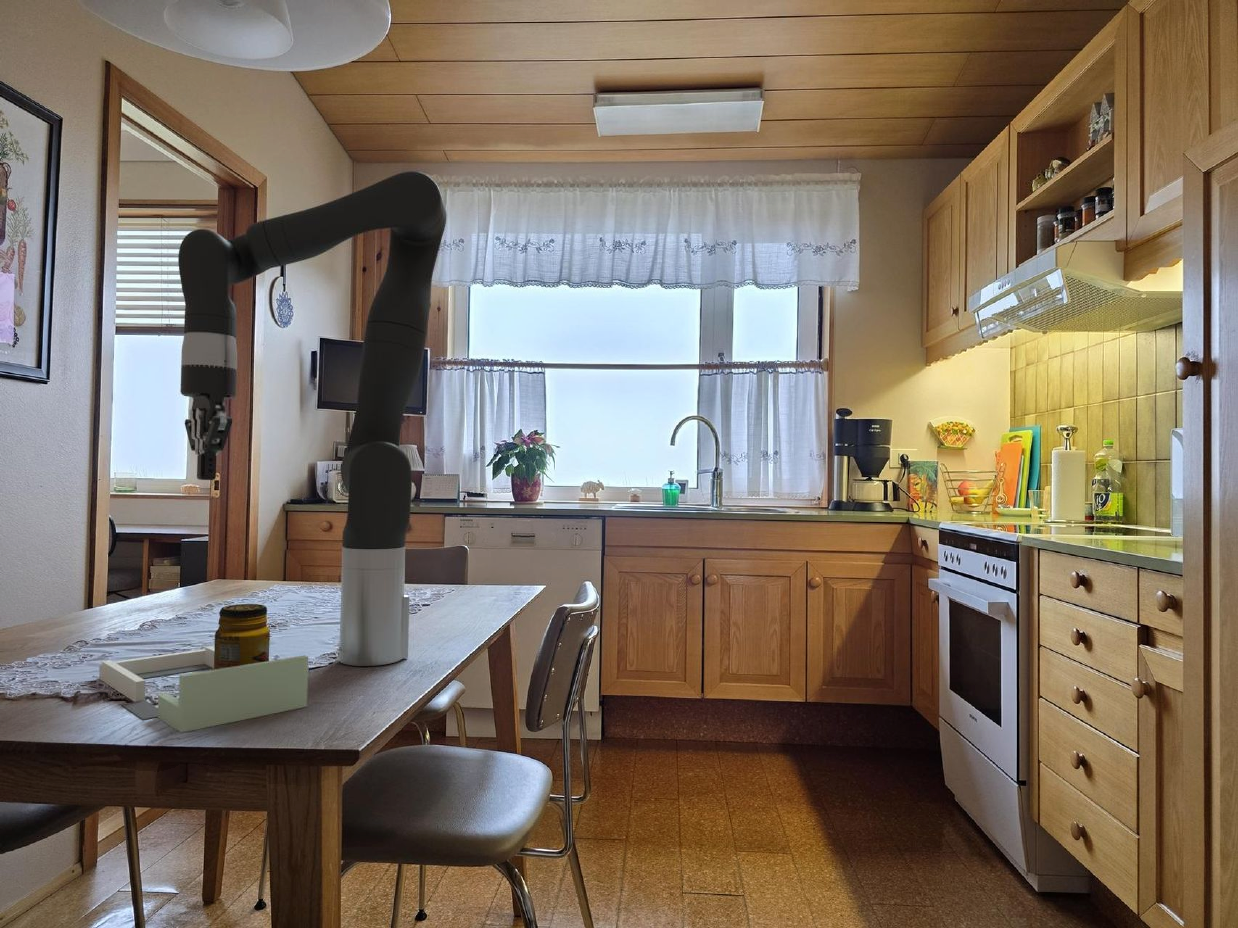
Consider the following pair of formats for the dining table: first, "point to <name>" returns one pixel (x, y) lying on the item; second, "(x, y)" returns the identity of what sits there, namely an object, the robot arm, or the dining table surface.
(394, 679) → the dining table surface
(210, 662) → the track
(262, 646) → the condiment
